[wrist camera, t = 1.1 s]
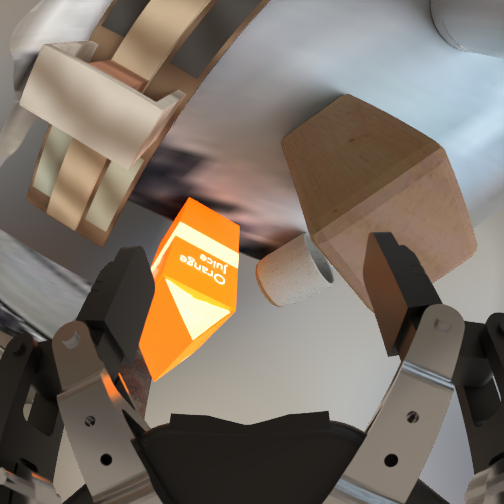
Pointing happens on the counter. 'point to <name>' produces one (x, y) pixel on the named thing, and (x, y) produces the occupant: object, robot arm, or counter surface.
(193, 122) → the counter surface
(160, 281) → the orange juice
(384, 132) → the wooden block
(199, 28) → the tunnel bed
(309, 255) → the ceramic mug
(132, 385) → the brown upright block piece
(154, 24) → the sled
